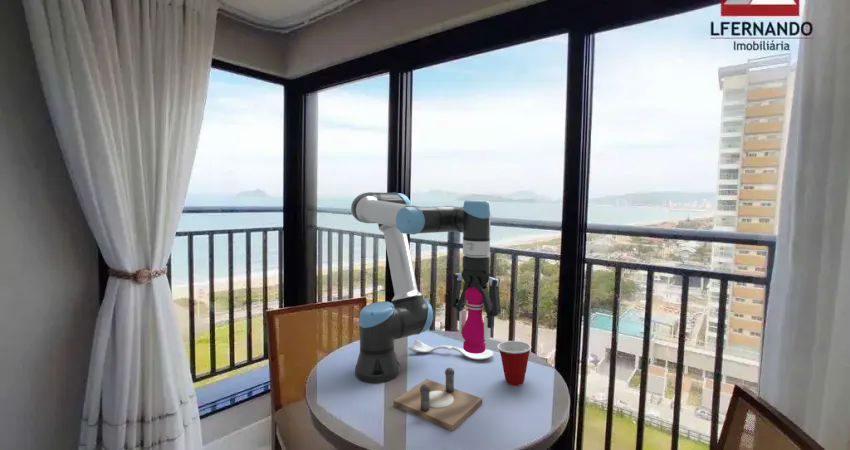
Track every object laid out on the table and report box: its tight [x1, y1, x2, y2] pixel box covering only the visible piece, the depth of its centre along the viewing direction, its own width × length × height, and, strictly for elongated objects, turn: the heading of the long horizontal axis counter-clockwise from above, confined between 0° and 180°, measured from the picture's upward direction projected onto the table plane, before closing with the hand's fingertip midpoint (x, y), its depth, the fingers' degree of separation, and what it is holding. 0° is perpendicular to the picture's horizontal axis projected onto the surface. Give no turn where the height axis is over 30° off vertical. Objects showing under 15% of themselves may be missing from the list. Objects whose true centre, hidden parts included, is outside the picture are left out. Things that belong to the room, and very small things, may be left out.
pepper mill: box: [461, 287, 487, 354], centre depth 102 cm, size 7×7×20 cm
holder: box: [392, 367, 483, 432], centre depth 104 cm, size 20×16×8 cm
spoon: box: [407, 339, 494, 361], centre depth 139 cm, size 9×32×4 cm, turn 74°
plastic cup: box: [496, 340, 532, 386], centre depth 117 cm, size 11×11×12 cm
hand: (474, 335), depth 103 cm, fingers closed on pepper mill, 7 cm apart
